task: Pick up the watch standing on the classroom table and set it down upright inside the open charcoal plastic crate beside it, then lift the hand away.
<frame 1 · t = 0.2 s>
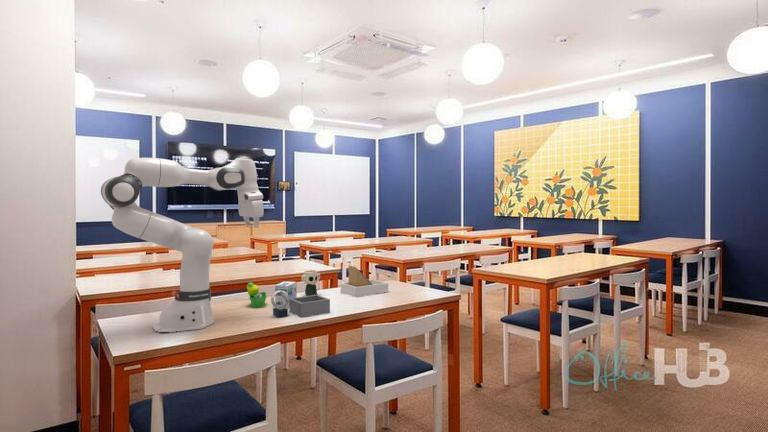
hand: (252, 227, 200), 39 cm above the table, tool pointing down, fingers open, 8 cm apart
big eyed figurine: (311, 295, 241), on the table
watch: (280, 316, 200), on the table
light bulb box: (286, 306, 219), on the table
sandwich container: (364, 293, 249), resting in light grey tray
light grey tray: (364, 292, 249), on the table
crate: (309, 312, 206), on the table
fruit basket: (256, 305, 219), on the table
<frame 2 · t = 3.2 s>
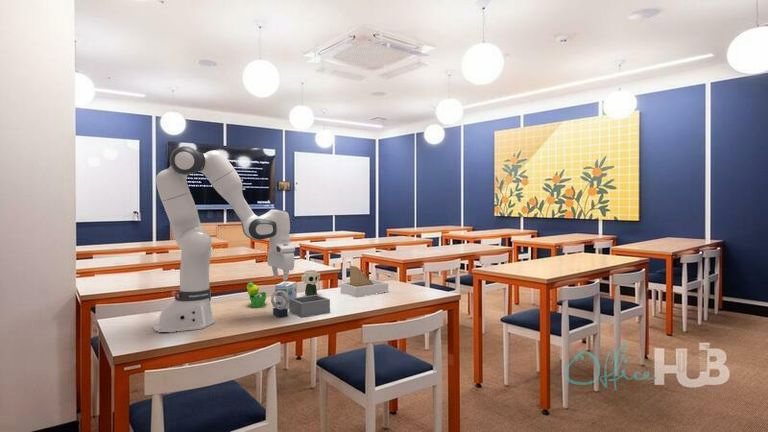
hand: (280, 278, 199), 16 cm above the table, tool pointing down, fingers open, 8 cm apart
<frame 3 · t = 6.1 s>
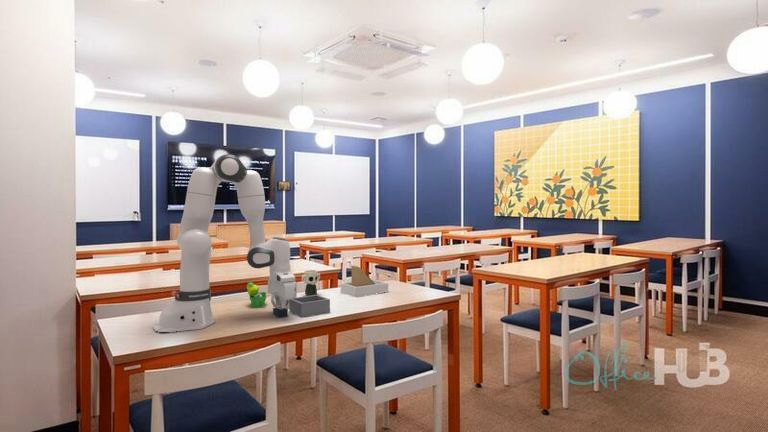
hand: (280, 306, 200), 4 cm above the table, tool pointing down, fingers closed on watch, 4 cm apart
watch: (280, 316, 200), on the table, touching gripper
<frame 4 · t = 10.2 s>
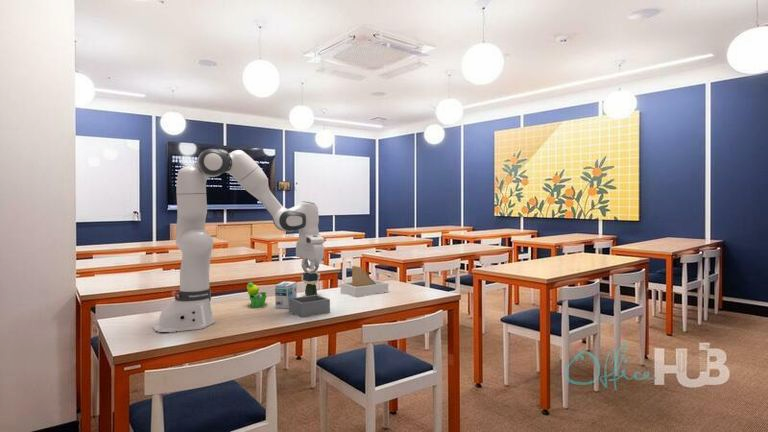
hand: (309, 268, 205), 20 cm above the table, tool pointing down, fingers closed on watch, 3 cm apart
watch: (310, 280, 206), point 14 cm above the table, touching gripper
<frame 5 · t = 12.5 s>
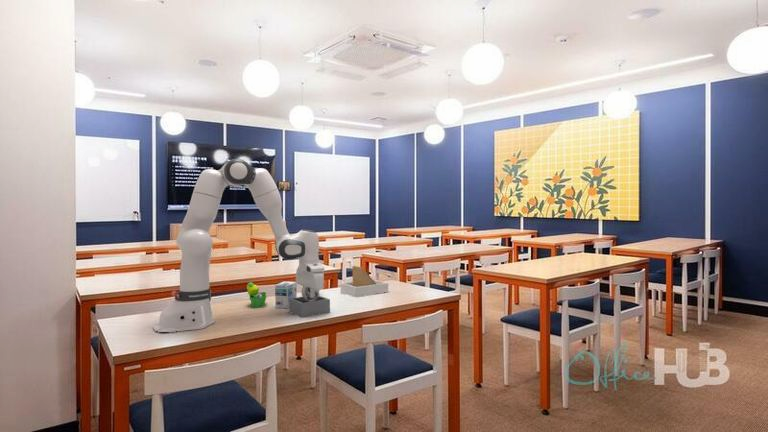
hand: (309, 296, 206), 7 cm above the table, tool pointing down, fingers closed on watch, 3 cm apart
watch: (310, 308, 206), point 2 cm above the table, touching gripper
when the fingers open (7 cm above the table, at t = 13.3 s): watch stays where it is, resting on crate.
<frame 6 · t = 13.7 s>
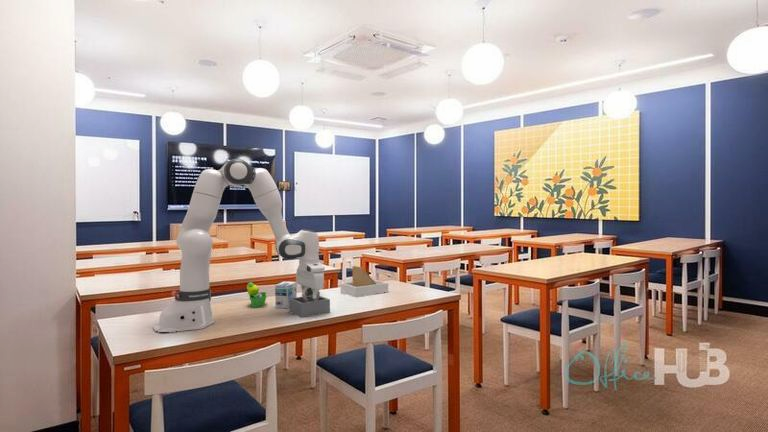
hand: (309, 296, 206), 7 cm above the table, tool pointing down, fingers open, 8 cm apart
watch: (311, 310, 206), point 1 cm above the table, touching crate
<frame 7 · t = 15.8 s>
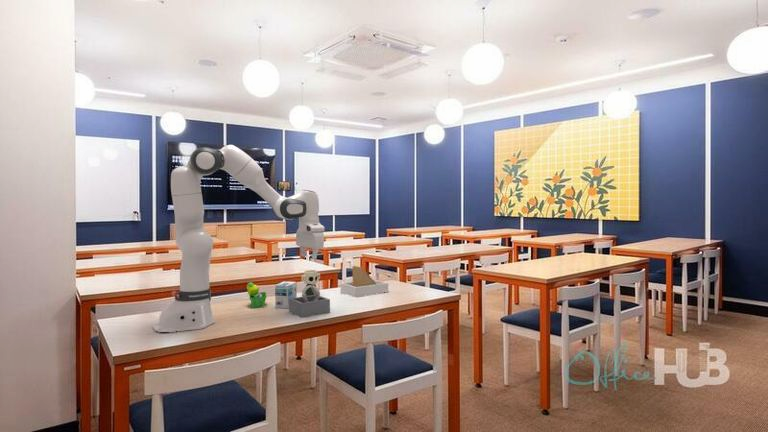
hand: (309, 257, 205), 25 cm above the table, tool pointing down, fingers open, 8 cm apart
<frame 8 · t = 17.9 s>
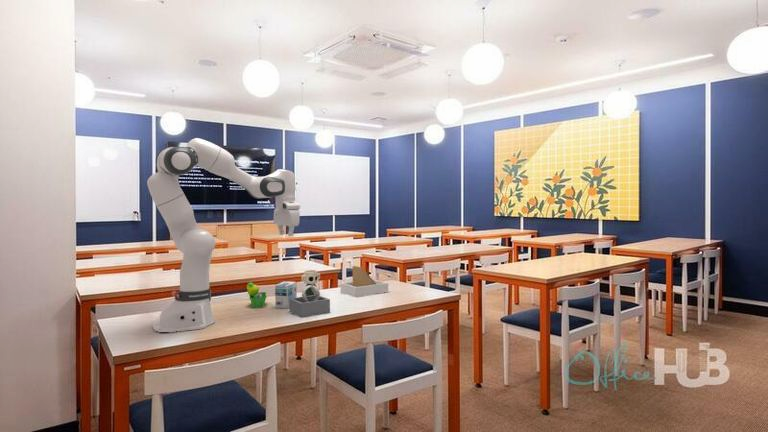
hand: (286, 235, 210), 34 cm above the table, tool pointing down, fingers open, 8 cm apart
at the end: watch 0.6 cm off-centre on the crate, point 0.8 cm above the crate's base; watch tilted 0°; the gripper is holding nothing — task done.
